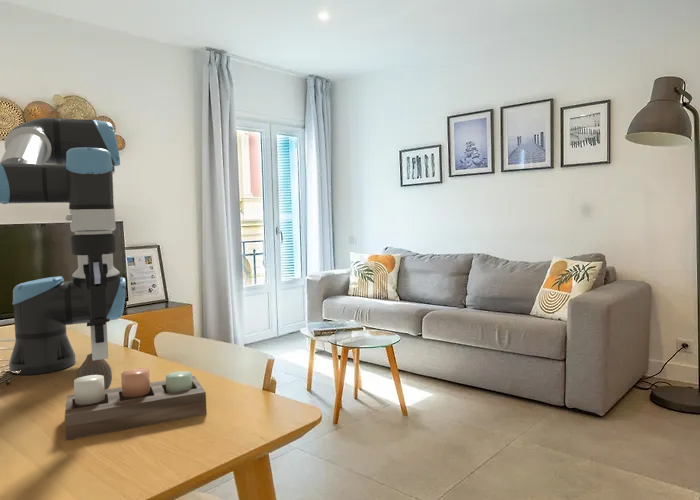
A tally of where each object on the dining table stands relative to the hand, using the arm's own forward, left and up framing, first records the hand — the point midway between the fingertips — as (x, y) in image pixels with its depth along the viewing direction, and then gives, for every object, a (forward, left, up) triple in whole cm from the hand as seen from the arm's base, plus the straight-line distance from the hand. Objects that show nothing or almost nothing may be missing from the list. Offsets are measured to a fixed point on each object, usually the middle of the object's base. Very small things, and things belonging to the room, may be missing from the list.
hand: (100, 358), depth 98 cm
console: (0, +6, -12) cm, 13 cm away
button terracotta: (0, +6, -8) cm, 10 cm away
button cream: (0, -2, -8) cm, 8 cm away
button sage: (0, +14, -9) cm, 17 cm away
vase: (-20, -1, -12) cm, 23 cm away
